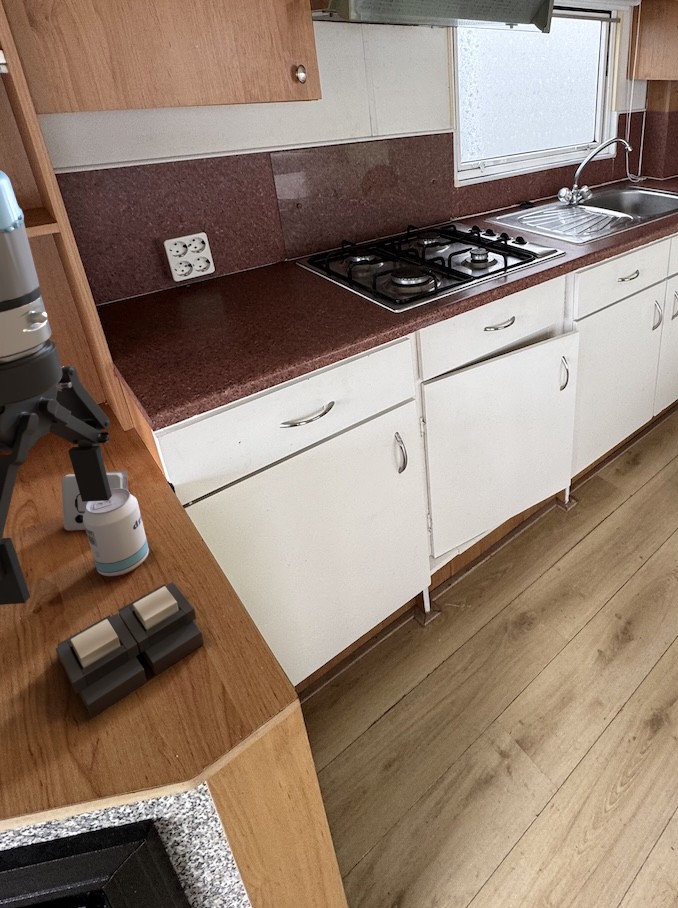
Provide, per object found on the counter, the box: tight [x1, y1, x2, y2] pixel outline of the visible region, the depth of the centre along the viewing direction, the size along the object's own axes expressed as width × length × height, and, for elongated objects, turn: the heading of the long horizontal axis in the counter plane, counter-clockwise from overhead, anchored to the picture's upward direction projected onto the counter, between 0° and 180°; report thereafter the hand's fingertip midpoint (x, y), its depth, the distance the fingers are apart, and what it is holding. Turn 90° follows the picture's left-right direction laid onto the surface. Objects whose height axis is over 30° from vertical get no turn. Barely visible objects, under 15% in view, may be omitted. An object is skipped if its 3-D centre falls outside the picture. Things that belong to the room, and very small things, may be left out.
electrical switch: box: [61, 470, 129, 531], centre depth 98 cm, size 9×5×9 cm, turn 95°
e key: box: [133, 586, 179, 630], centre depth 77 cm, size 4×4×2 cm
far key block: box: [118, 581, 205, 676], centre depth 78 cm, size 12×7×4 cm, turn 50°
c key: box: [71, 619, 120, 669], centre depth 72 cm, size 4×4×2 cm
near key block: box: [55, 612, 147, 719], centre depth 73 cm, size 12×7×4 cm, turn 50°
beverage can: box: [83, 488, 150, 577], centre depth 88 cm, size 7×7×12 cm
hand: (59, 544), depth 57 cm, fingers open, 13 cm apart
